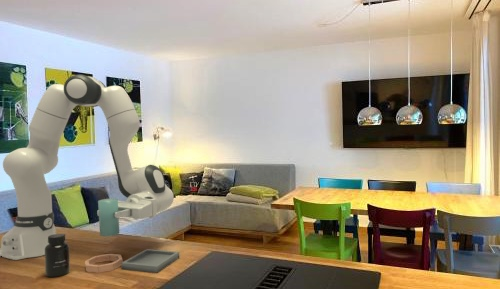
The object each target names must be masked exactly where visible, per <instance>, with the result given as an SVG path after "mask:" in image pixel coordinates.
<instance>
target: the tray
mask: <svg viewBox="0 0 500 289" xmlns="http://www.w3.org/2000/svg"><path fill="white" fill-rule="evenodd" d="M178 259H180V252H179V251H173V250H163V249H149V248H146V249H143V251H140V252H139V253H136V254H135V255H133V256H131V257H129V258H128V259H126V260H124V261H123V262H122V263H121V266H120V267H121V270H126V271H135V272H144V273H145V272H146V273H154V274H158V273H159V272H160V271H162V270H164V269H165V268H166V267H168V266H170V264H172V263H173V262H175V261H176V260H178Z"/></svg>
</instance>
